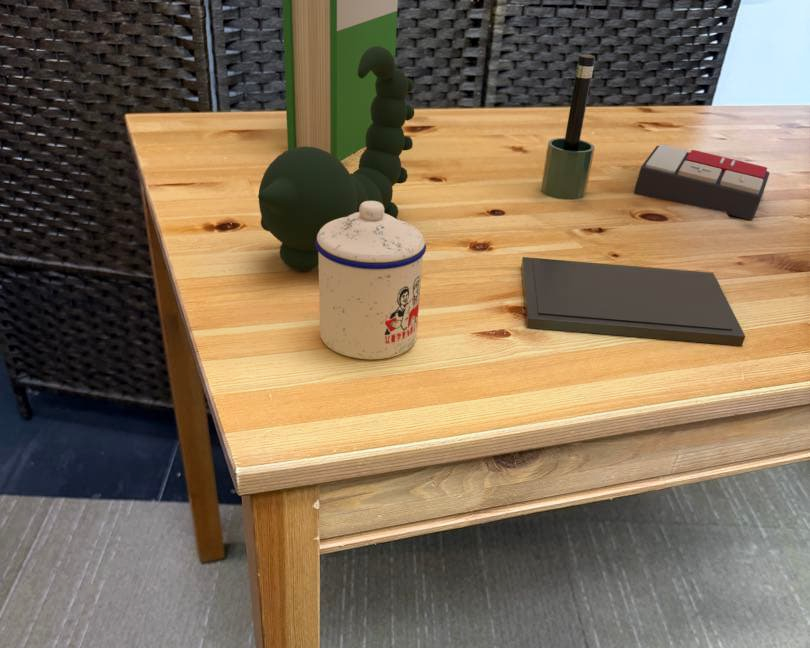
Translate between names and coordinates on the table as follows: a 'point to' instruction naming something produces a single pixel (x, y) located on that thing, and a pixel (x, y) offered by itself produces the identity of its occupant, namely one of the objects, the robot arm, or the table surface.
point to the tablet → (627, 301)
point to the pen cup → (566, 170)
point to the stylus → (579, 102)
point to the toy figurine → (338, 171)
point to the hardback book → (332, 70)
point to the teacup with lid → (369, 283)
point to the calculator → (702, 180)
